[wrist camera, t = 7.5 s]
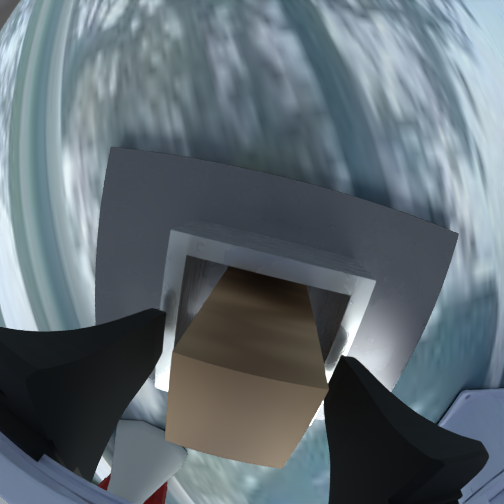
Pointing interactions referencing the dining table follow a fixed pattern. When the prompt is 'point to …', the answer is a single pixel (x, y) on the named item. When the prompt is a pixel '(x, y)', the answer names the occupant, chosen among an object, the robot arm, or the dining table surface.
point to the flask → (142, 460)
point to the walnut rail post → (247, 371)
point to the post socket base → (266, 254)
